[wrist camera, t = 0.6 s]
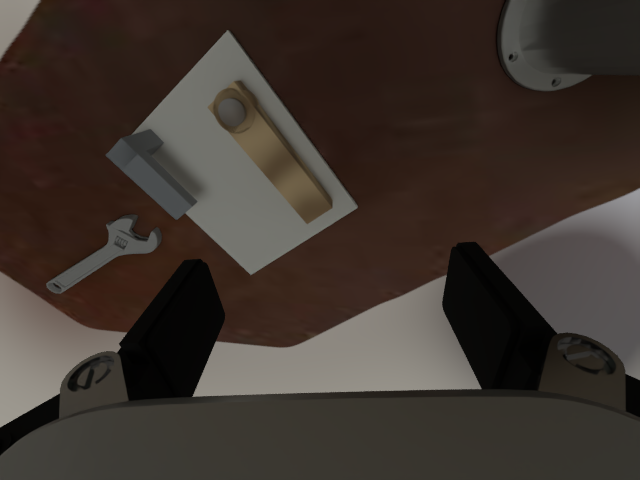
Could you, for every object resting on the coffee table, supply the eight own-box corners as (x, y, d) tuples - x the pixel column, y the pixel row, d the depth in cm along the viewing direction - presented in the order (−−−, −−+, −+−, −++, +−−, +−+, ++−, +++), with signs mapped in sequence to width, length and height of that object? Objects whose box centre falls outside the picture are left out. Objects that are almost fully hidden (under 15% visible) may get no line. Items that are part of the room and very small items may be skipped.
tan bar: (213, 104, 32) (200, 107, 29) (240, 77, 30) (230, 78, 27) (307, 216, 38) (305, 229, 35) (333, 199, 37) (333, 210, 34)
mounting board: (230, 30, 29) (206, 22, 24) (357, 205, 38) (360, 226, 33) (122, 148, 36) (84, 161, 31) (252, 271, 45) (241, 298, 40)
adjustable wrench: (64, 290, 50) (56, 296, 49) (32, 263, 47) (22, 269, 46) (169, 240, 43) (163, 246, 42) (138, 205, 40) (131, 210, 39)
